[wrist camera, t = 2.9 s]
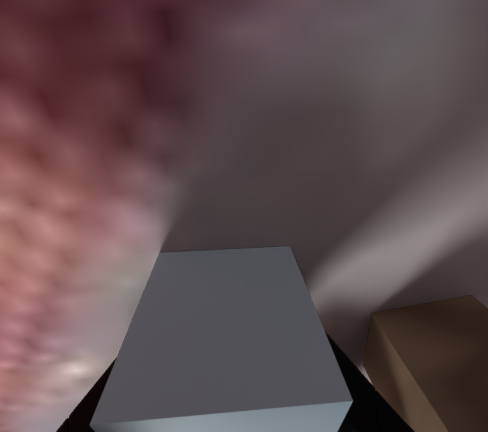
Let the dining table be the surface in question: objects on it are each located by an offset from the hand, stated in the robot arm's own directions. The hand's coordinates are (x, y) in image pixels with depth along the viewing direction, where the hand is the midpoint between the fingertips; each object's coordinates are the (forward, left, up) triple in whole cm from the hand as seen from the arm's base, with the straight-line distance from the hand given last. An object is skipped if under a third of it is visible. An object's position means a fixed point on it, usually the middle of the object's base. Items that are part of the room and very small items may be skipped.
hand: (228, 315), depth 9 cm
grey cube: (0, 0, -1) cm, 1 cm away
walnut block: (-10, +4, -1) cm, 11 cm away
